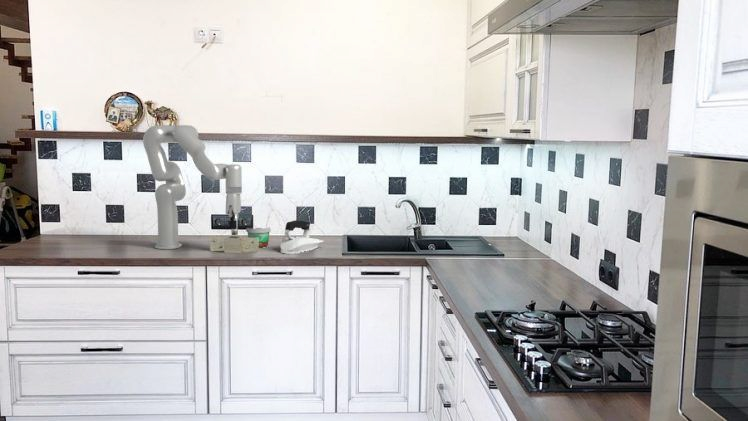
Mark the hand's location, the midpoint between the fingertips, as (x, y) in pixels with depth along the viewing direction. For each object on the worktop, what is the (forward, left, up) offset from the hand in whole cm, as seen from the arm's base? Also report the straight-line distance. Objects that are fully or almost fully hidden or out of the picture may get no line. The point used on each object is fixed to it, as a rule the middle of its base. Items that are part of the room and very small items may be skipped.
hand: (234, 228), depth 312 cm
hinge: (0, 0, -12) cm, 12 cm away
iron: (+30, +9, -12) cm, 34 cm away
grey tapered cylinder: (0, 0, -3) cm, 3 cm away
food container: (+9, +12, -12) cm, 19 cm away
